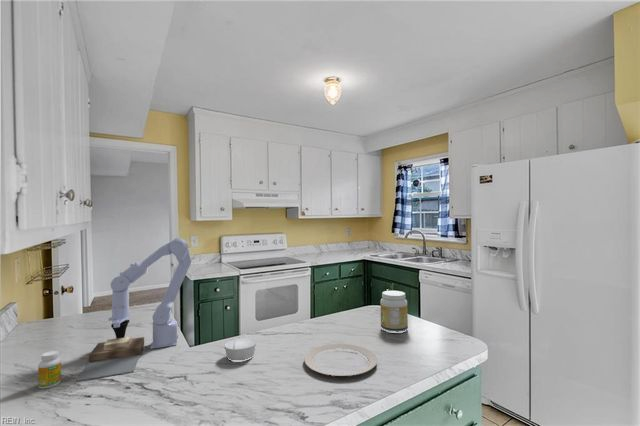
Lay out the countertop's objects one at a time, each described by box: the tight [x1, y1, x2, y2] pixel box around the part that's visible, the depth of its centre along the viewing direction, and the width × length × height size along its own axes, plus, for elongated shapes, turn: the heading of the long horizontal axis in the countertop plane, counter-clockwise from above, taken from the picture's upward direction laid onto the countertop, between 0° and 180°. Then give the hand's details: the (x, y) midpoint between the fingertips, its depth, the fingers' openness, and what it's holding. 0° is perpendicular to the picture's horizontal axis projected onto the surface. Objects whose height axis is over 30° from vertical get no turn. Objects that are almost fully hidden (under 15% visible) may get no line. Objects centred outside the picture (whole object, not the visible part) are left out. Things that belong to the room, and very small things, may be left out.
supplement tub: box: [379, 290, 409, 332], centre depth 144 cm, size 12×12×17 cm
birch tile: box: [104, 336, 133, 350], centre depth 121 cm, size 8×6×2 cm
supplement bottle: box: [37, 350, 62, 389], centre depth 99 cm, size 5×5×10 cm
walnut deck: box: [88, 336, 145, 363], centre depth 122 cm, size 16×12×3 cm
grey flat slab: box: [75, 354, 141, 383], centre depth 109 cm, size 16×14×1 cm
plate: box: [304, 343, 378, 377], centre depth 111 cm, size 26×26×2 cm
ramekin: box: [224, 337, 257, 360], centre depth 117 cm, size 11×11×5 cm
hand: (120, 340), depth 125 cm, fingers closed
